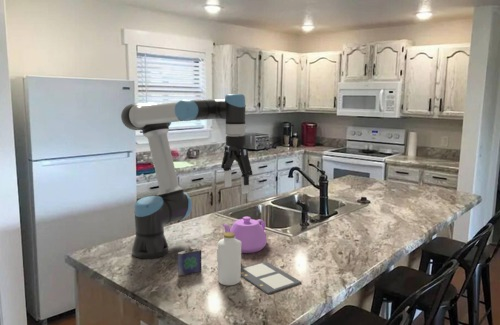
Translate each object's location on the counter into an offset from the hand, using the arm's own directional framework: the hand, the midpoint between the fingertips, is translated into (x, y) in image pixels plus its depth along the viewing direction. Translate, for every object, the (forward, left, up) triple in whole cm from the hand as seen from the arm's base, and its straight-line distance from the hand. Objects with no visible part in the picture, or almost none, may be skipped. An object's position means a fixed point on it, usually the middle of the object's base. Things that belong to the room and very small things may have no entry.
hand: (236, 190), depth 160 cm
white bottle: (-10, -11, -31) cm, 34 cm away
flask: (-19, +3, -31) cm, 36 cm away
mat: (+3, -16, -31) cm, 35 cm away
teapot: (+13, +14, -31) cm, 36 cm away
